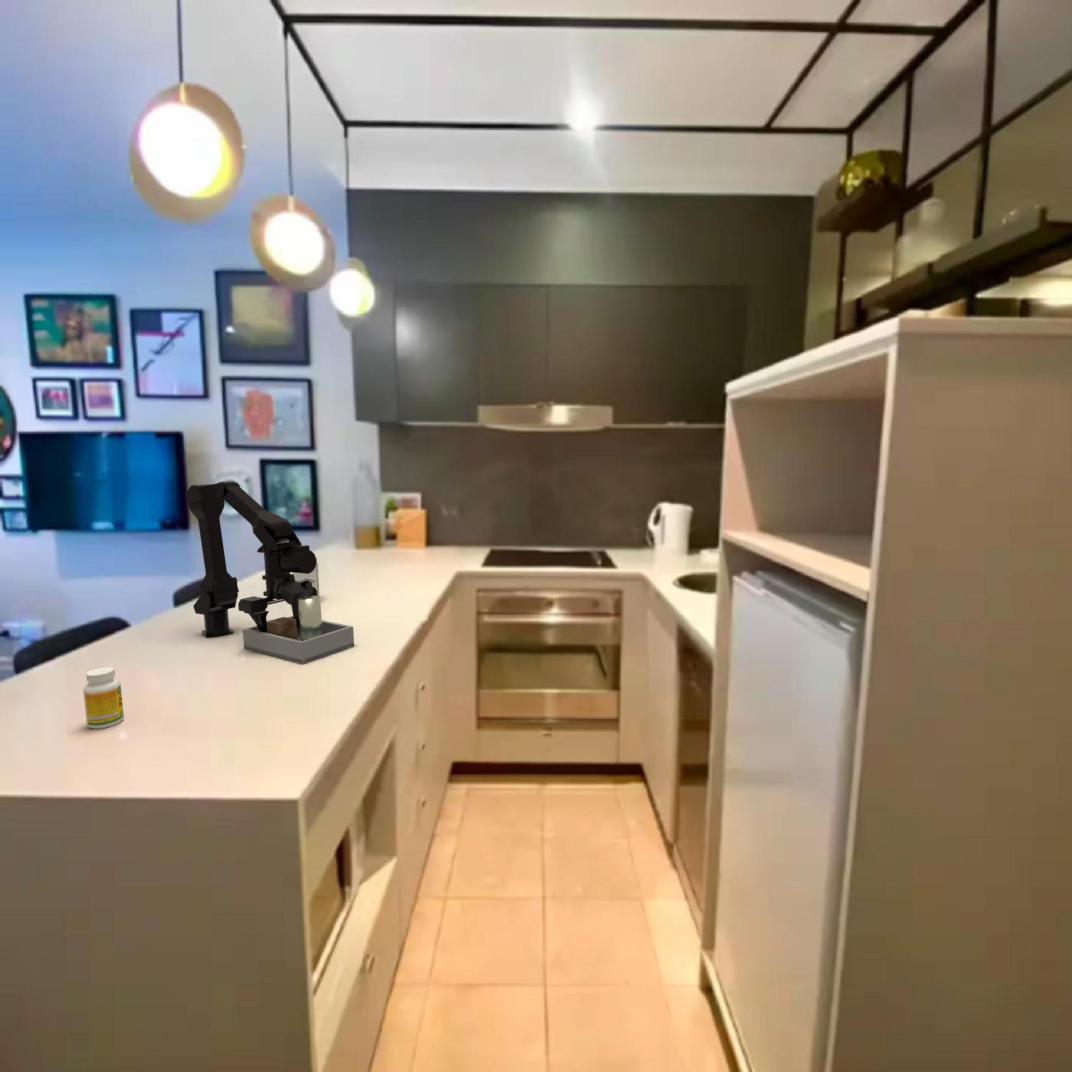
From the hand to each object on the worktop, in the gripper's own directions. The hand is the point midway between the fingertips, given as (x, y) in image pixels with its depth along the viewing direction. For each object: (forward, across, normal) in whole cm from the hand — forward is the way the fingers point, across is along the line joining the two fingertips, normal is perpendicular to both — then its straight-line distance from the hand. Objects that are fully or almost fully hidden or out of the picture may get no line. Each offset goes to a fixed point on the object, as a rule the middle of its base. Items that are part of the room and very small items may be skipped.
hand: (281, 632), depth 151 cm
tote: (+3, 0, -6) cm, 7 cm away
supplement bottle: (+3, -45, -13) cm, 47 cm away
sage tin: (+2, 0, -12) cm, 12 cm away
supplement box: (+3, +32, +32) cm, 45 cm away
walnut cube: (+2, 0, 0) cm, 2 cm away
